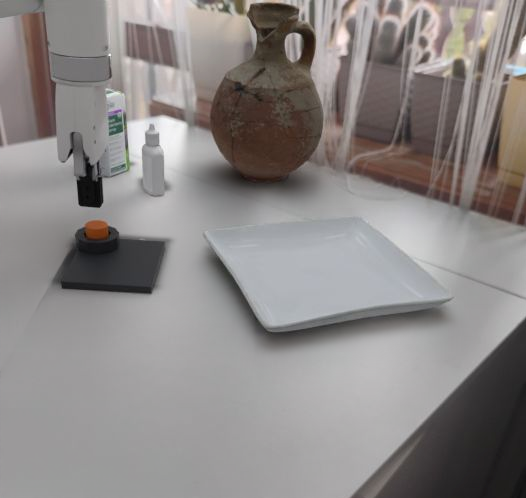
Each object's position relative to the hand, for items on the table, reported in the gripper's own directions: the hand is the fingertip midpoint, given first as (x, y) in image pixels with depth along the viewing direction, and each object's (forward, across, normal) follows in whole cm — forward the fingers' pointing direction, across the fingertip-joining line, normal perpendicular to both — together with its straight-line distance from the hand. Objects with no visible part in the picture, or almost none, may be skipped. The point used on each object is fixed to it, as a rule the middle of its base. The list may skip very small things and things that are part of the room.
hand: (91, 204), depth 89 cm
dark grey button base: (+7, +5, +4) cm, 10 cm away
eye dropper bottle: (+8, -25, +5) cm, 27 cm away
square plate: (+7, +6, +33) cm, 34 cm away
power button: (+5, 0, +1) cm, 5 cm away
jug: (+7, -38, +25) cm, 46 cm away
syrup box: (+8, -34, -5) cm, 36 cm away
